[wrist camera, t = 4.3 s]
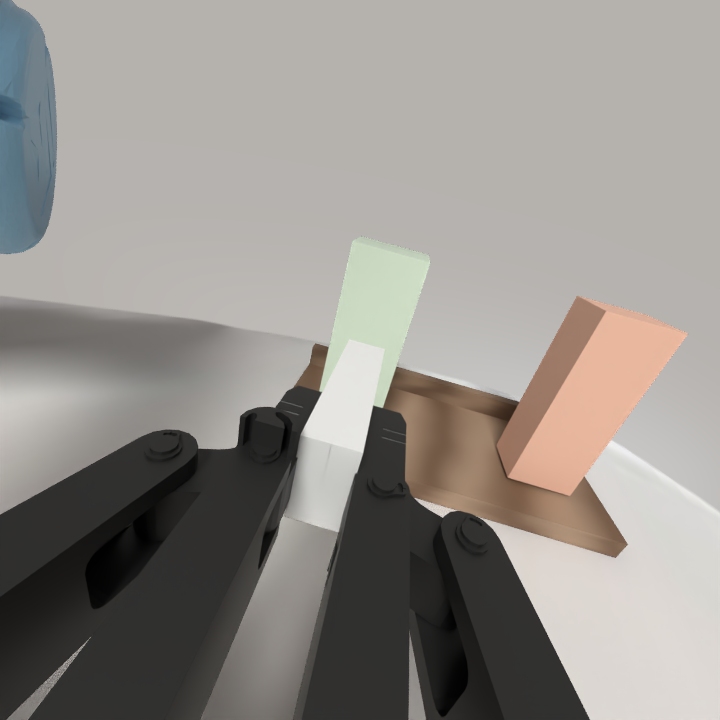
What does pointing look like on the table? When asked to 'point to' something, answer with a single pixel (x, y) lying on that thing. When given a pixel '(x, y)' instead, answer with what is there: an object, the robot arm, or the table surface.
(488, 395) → the wooden board
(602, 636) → the table surface
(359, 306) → the pale green block
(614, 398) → the salmon orange rectangular block
